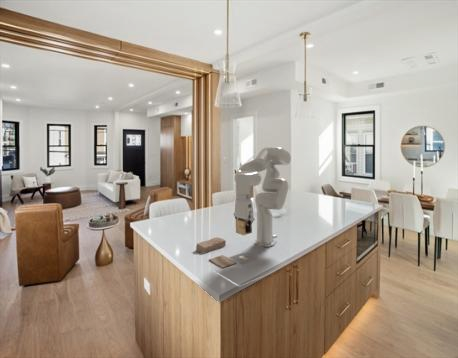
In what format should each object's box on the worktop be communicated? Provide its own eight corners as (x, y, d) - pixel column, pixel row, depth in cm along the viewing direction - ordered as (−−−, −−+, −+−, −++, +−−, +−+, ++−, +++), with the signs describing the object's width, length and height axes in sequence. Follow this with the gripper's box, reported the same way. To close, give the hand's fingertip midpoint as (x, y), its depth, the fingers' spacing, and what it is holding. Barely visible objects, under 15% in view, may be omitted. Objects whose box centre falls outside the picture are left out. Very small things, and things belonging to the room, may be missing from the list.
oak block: (244, 230, 140) (244, 217, 139) (252, 232, 135) (251, 219, 134) (235, 232, 136) (235, 219, 135) (243, 235, 131) (243, 222, 130)
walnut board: (222, 257, 139) (222, 255, 139) (237, 264, 130) (237, 262, 129) (208, 261, 133) (208, 259, 133) (222, 269, 124) (222, 267, 124)
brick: (204, 254, 143) (204, 246, 143) (195, 250, 149) (195, 242, 149) (226, 247, 154) (226, 239, 154) (217, 243, 160) (217, 236, 160)
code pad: (244, 253, 144) (244, 252, 144) (258, 259, 135) (258, 258, 135) (228, 258, 137) (228, 257, 137) (242, 265, 129) (242, 264, 129)
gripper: (260, 198, 129) (260, 233, 131) (237, 194, 142) (238, 225, 144) (249, 200, 124) (249, 236, 126) (227, 195, 137) (228, 228, 140)
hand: (243, 230), depth 135 cm, fingers closed on oak block, 6 cm apart
